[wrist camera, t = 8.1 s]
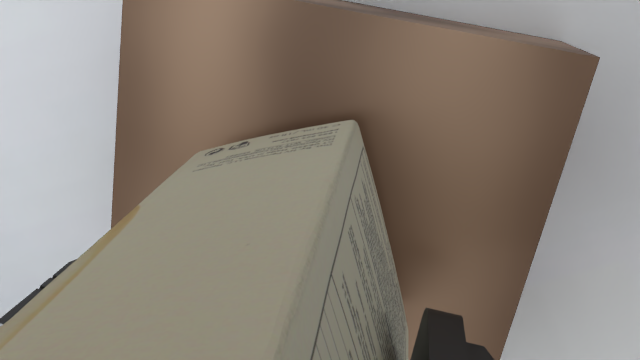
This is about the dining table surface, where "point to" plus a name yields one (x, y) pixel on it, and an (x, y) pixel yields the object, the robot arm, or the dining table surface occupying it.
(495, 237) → the walnut plinth
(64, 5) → the dining table surface
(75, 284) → the skincare box
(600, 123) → the dining table surface
